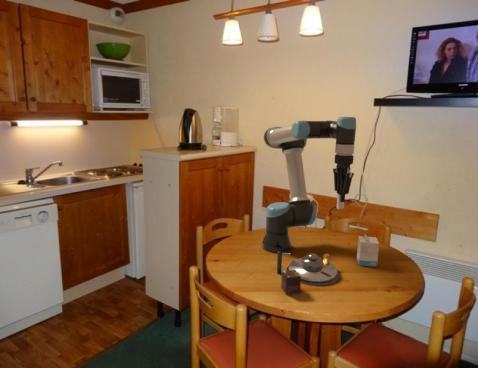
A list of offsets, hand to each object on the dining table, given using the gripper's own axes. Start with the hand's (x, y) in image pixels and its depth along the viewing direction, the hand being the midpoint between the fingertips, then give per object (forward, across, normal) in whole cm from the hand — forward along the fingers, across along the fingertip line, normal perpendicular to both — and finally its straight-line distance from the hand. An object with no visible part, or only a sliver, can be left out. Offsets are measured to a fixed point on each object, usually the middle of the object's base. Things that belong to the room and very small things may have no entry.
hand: (340, 208), depth 150 cm
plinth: (+29, 0, +11) cm, 31 cm away
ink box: (+30, +5, -19) cm, 36 cm away
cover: (+27, +1, +11) cm, 29 cm away
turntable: (+29, 0, +11) cm, 31 cm away
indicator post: (+29, +3, +24) cm, 38 cm away
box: (+30, -12, +26) cm, 41 cm away
